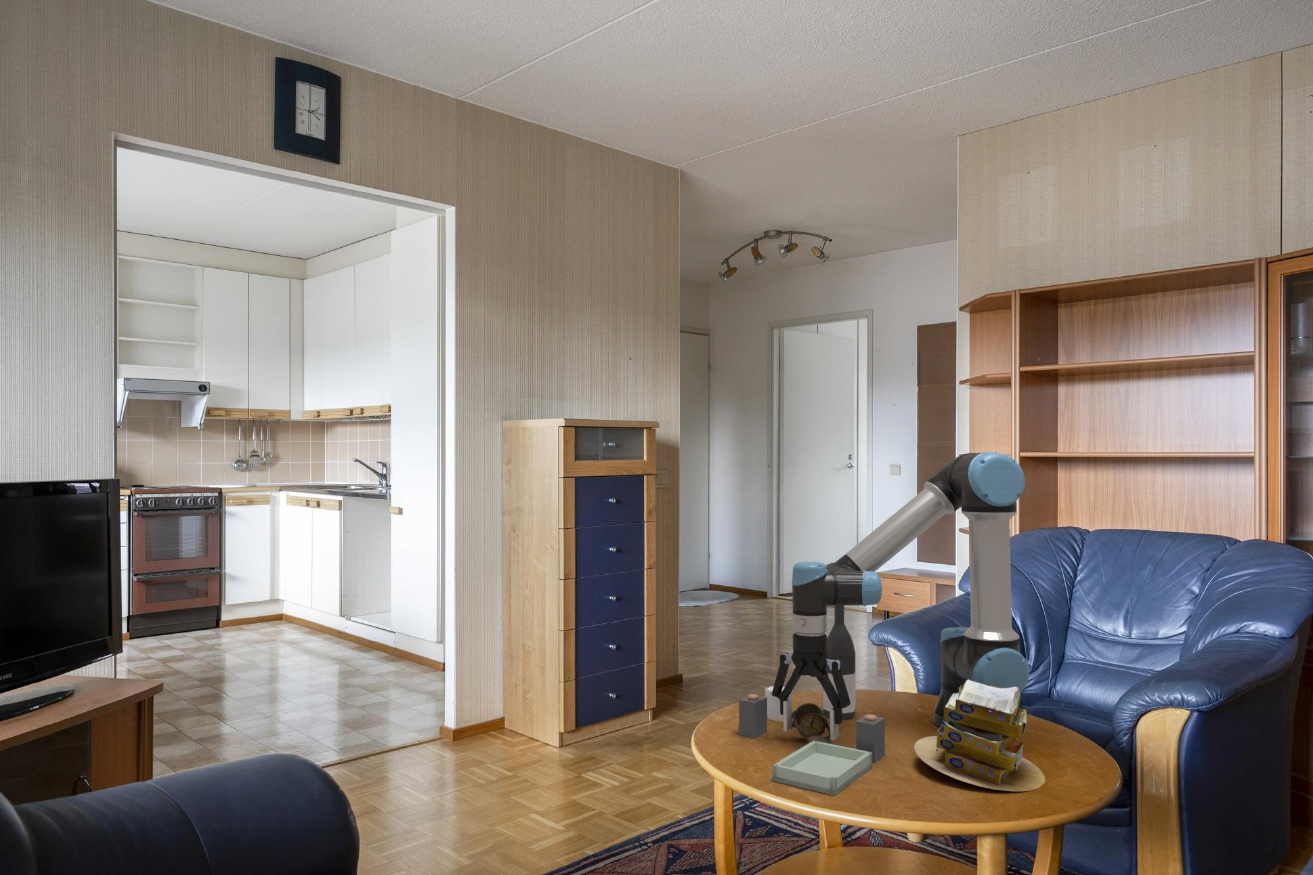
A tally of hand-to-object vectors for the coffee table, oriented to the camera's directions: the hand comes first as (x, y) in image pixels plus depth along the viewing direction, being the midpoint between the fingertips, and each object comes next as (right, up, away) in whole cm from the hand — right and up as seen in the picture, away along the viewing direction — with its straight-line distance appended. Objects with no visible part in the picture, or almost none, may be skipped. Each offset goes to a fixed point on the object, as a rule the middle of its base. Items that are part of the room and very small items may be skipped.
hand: (810, 734), depth 193 cm
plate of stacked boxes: (+31, -2, -15) cm, 35 cm away
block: (+11, -2, -8) cm, 14 cm away
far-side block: (-12, -3, +8) cm, 14 cm away
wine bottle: (+11, -3, +24) cm, 26 cm away
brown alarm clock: (0, -2, 0) cm, 2 cm away
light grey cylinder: (-4, -3, +21) cm, 21 cm away
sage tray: (-1, -2, -18) cm, 18 cm away
